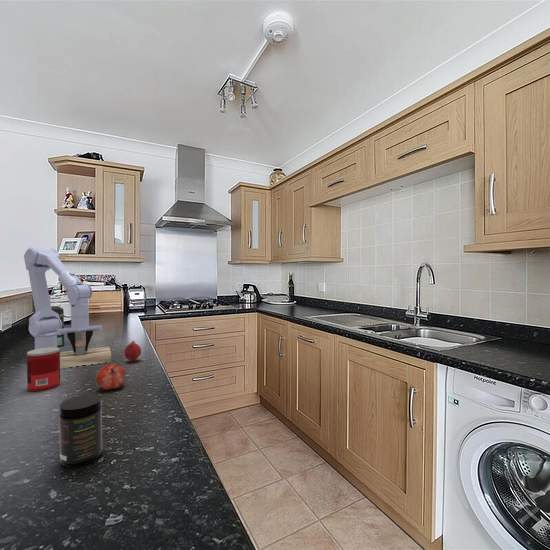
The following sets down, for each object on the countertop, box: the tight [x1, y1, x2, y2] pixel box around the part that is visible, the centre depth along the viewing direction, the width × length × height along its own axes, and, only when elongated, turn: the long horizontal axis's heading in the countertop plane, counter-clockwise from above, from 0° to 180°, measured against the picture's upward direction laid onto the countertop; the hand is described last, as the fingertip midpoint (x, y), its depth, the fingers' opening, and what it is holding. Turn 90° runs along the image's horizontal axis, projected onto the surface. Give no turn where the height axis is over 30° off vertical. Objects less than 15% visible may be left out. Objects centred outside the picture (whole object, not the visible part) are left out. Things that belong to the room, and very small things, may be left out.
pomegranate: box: [96, 363, 126, 391], centre depth 91 cm, size 7×7×10 cm
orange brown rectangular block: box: [75, 339, 86, 356], centre depth 119 cm, size 5×3×7 cm, turn 31°
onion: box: [123, 340, 142, 362], centre depth 118 cm, size 6×6×8 cm
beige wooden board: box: [60, 346, 112, 370], centre depth 119 cm, size 14×20×3 cm
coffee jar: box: [44, 305, 65, 348], centre depth 145 cm, size 10×8×19 cm
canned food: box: [26, 347, 61, 392], centre depth 93 cm, size 8×8×11 cm
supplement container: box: [58, 394, 103, 468], centre depth 57 cm, size 7×7×10 cm
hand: (80, 351), depth 119 cm, fingers closed on orange brown rectangular block, 3 cm apart
